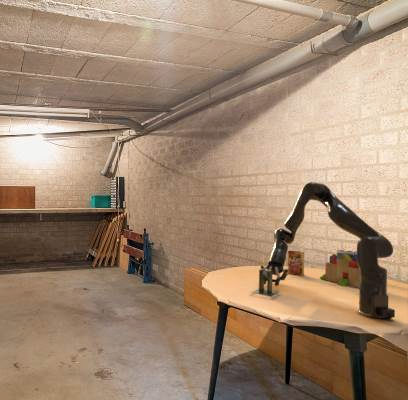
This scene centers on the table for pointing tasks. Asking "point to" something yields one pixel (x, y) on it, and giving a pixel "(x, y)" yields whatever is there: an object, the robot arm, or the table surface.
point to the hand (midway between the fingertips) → (270, 284)
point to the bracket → (269, 284)
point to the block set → (343, 269)
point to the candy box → (296, 262)
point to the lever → (266, 275)
